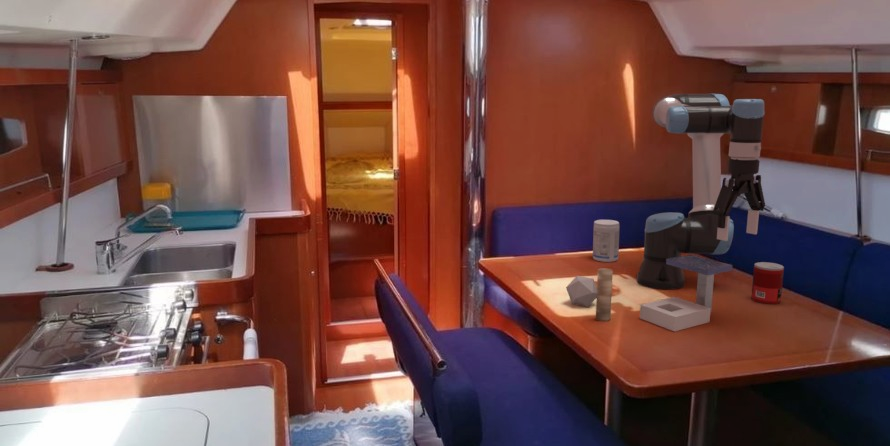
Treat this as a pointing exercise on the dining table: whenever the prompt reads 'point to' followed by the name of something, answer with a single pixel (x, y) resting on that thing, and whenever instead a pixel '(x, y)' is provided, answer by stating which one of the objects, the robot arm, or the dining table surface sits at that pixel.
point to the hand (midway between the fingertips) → (737, 236)
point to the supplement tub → (606, 240)
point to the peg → (604, 294)
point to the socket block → (675, 313)
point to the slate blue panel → (701, 274)
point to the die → (582, 291)
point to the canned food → (767, 282)
